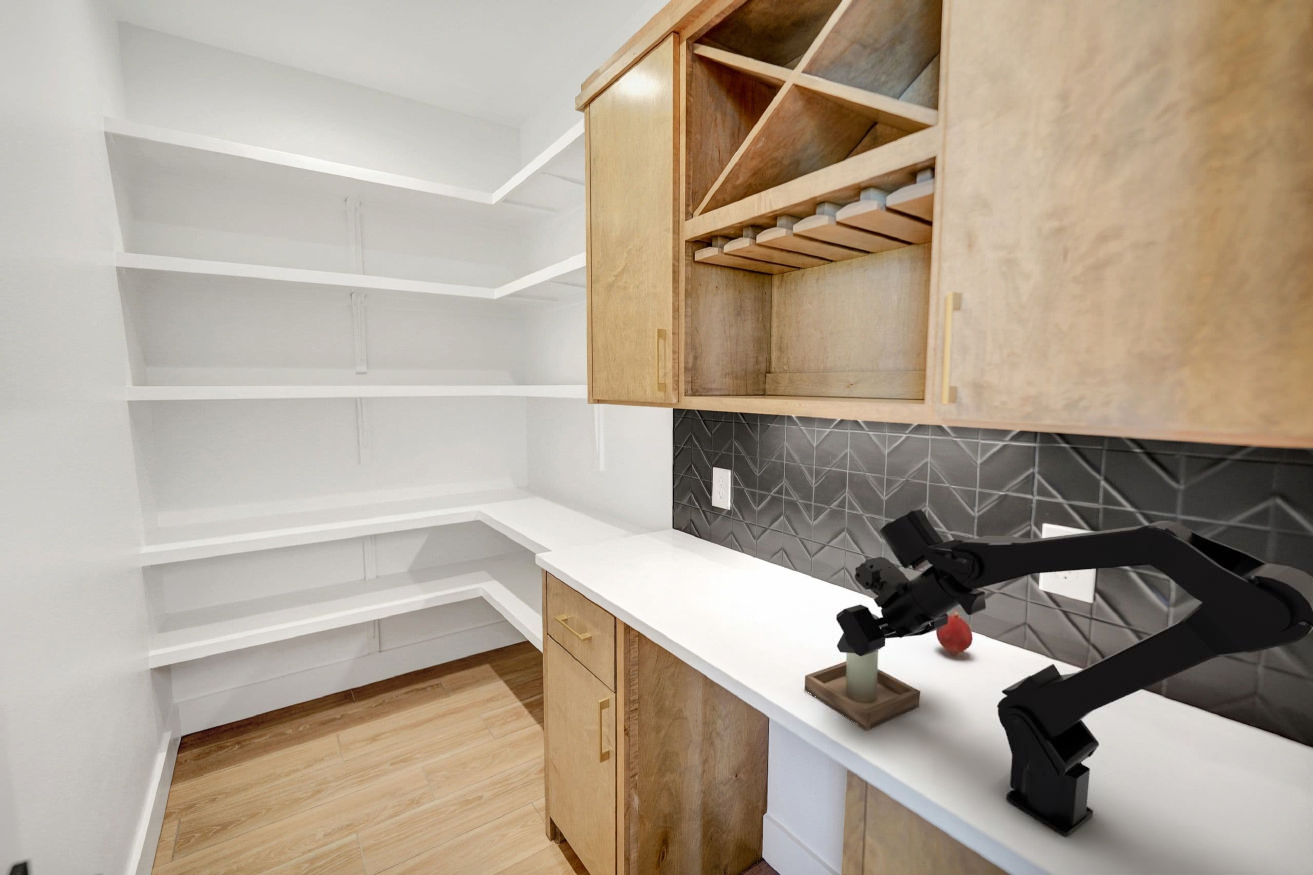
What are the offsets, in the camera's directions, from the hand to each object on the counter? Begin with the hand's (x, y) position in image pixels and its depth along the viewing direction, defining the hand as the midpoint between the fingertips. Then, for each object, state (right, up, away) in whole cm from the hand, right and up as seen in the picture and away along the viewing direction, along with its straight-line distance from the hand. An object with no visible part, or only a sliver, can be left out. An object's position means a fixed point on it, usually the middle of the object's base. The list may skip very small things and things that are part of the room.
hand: (859, 641), depth 88 cm
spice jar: (0, -8, 0) cm, 8 cm away
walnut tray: (0, -9, 0) cm, 9 cm away
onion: (+22, -8, +15) cm, 28 cm away
